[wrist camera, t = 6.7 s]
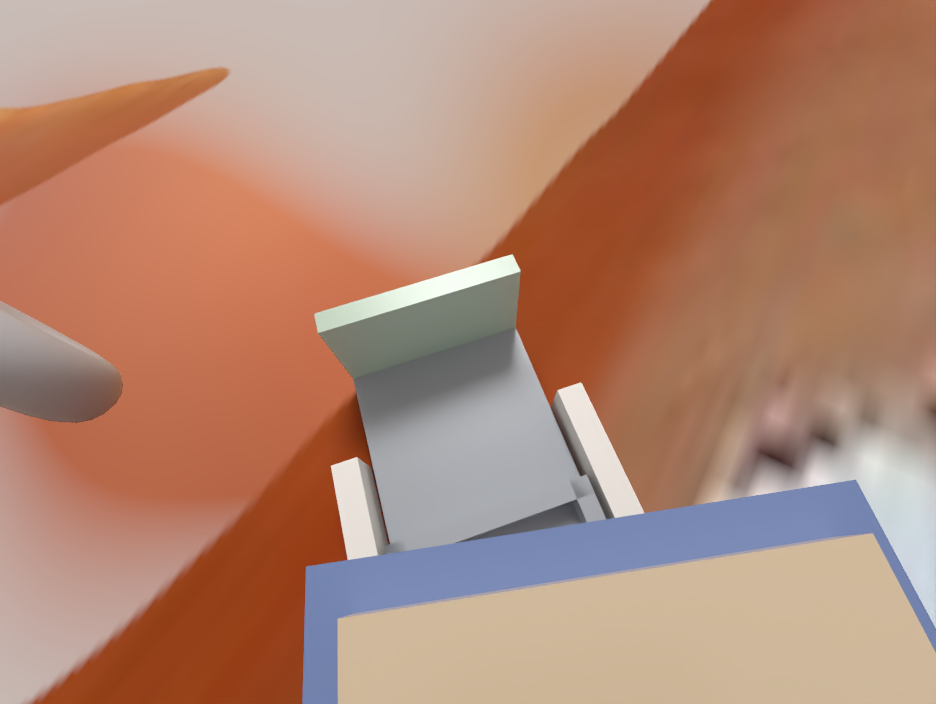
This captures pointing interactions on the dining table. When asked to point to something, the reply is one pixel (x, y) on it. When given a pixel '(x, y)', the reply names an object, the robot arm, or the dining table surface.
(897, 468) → the dining table surface
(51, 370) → the donut
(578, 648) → the blue beige tall block
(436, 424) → the tray
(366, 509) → the beige low rectangular frame
